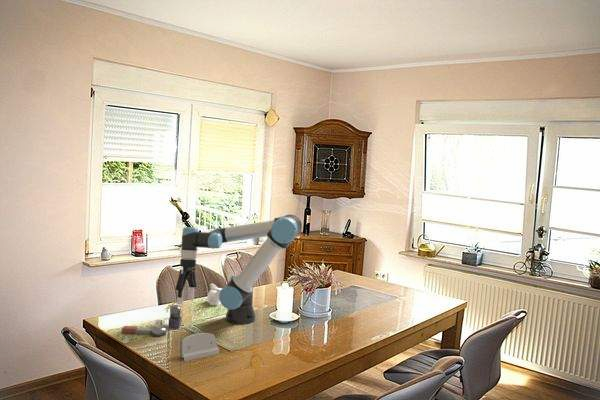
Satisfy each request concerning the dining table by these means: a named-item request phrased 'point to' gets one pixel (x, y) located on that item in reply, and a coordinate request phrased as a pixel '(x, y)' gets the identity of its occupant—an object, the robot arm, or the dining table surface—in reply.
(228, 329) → the dining table surface
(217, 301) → the rabbit
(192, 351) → the hinge
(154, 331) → the ratchet
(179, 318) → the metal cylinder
